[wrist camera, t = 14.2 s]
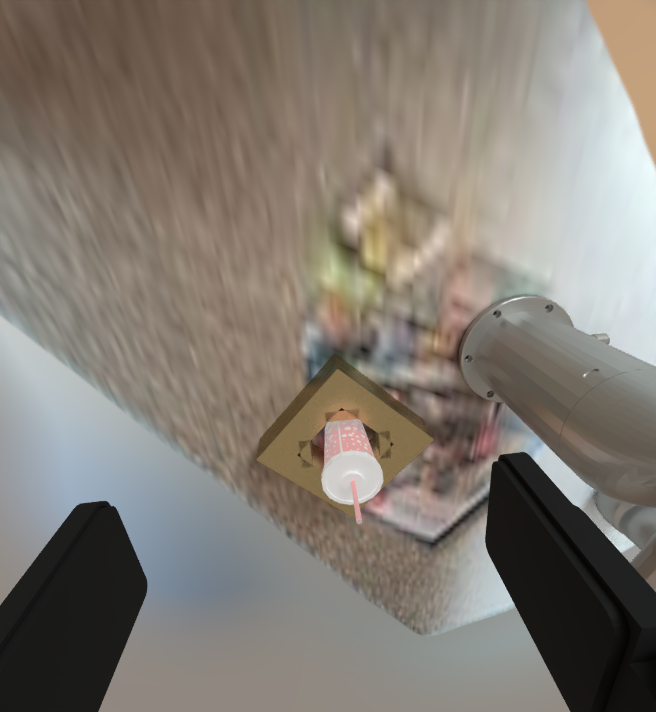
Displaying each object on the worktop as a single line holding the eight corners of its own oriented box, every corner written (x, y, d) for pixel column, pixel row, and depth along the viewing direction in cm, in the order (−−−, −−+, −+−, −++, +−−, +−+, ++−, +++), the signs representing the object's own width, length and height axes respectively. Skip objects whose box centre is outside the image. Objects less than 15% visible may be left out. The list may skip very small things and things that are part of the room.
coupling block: (334, 353, 40) (337, 368, 37) (423, 419, 44) (434, 439, 41) (260, 438, 44) (256, 460, 40) (348, 492, 48) (352, 516, 44)
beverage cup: (328, 456, 46) (337, 555, 33) (311, 416, 43) (313, 507, 30) (375, 440, 45) (403, 536, 32) (360, 399, 43) (383, 485, 30)
